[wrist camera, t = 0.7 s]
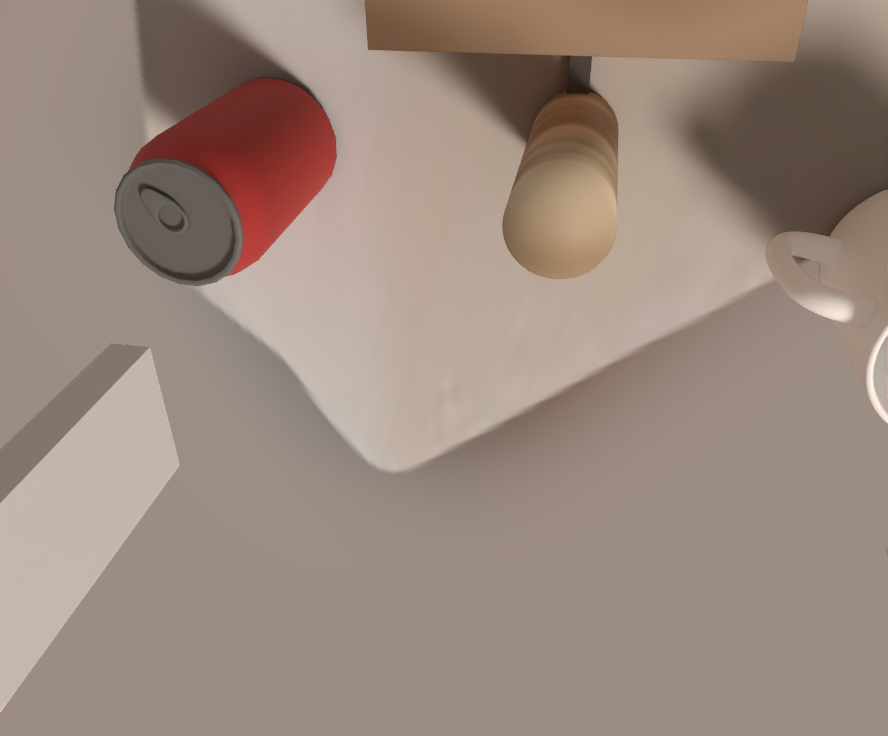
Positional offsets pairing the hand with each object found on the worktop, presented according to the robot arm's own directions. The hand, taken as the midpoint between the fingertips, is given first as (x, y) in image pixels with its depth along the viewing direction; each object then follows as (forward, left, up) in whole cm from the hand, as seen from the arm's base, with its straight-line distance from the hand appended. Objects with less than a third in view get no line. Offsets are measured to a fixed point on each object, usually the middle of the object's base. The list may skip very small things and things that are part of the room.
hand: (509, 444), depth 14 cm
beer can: (+4, -16, -29) cm, 33 cm away
